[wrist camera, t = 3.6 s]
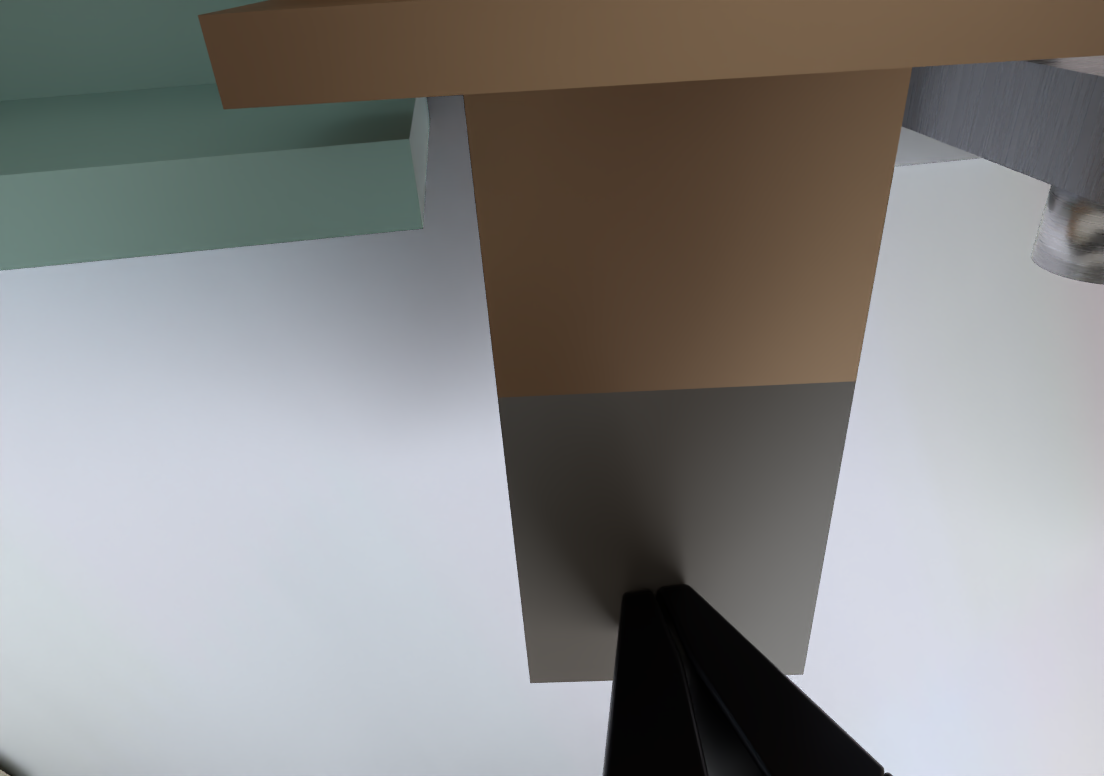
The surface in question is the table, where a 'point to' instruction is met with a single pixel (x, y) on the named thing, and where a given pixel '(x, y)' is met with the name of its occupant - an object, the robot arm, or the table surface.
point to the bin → (178, 144)
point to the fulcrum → (1023, 142)
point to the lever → (660, 261)
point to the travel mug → (3, 773)
